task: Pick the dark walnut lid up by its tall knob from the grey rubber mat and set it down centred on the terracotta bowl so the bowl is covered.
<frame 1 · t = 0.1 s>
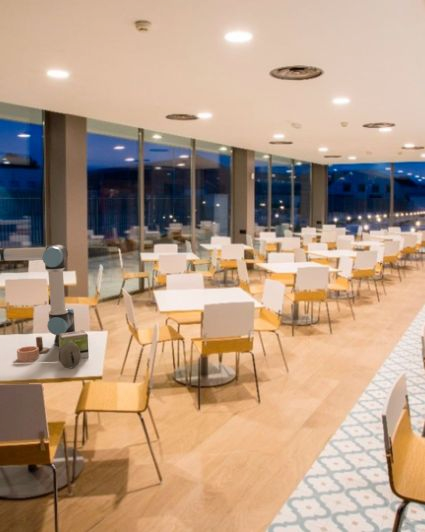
bowl: (28, 359, 324), on the table
mat: (40, 352, 337), on the table
lid: (40, 351, 336), point 1 cm above the table, touching mat
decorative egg: (70, 368, 306), on the table
tea box: (74, 358, 324), on the table
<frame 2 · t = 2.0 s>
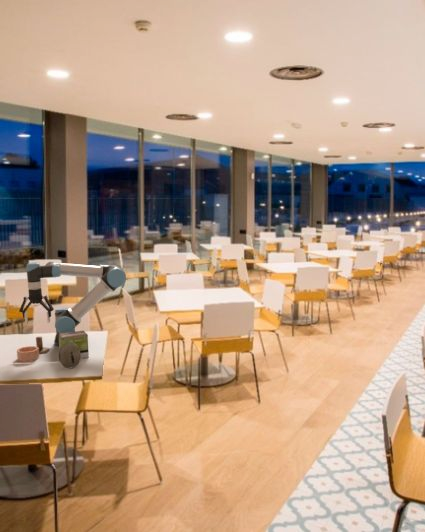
hand: (37, 322, 334), 19 cm above the table, fingers open, 13 cm apart
nothing on the table moved.
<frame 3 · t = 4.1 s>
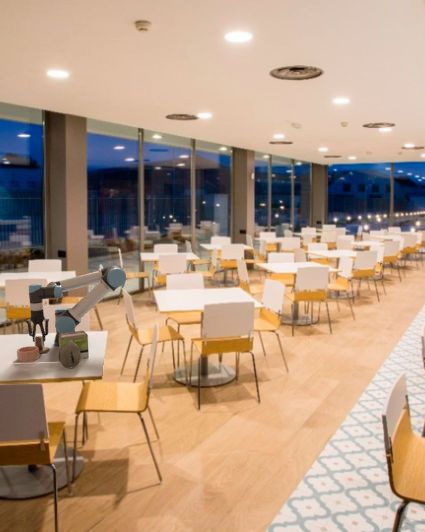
hand: (39, 346, 336), 4 cm above the table, fingers closed on lid, 3 cm apart
lid: (40, 350, 336), point 1 cm above the table, touching gripper
everything else where it was.
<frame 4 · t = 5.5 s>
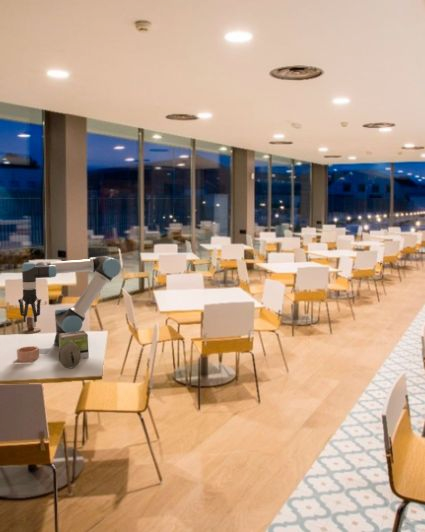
hand: (30, 327, 328), 17 cm above the table, fingers closed on lid, 3 cm apart
lid: (30, 331, 329), point 15 cm above the table, touching gripper
everything else where it was.
when the fingers open (11 cm above the table, at t = 7.2 s): lid drops 2 cm, resting on bowl.
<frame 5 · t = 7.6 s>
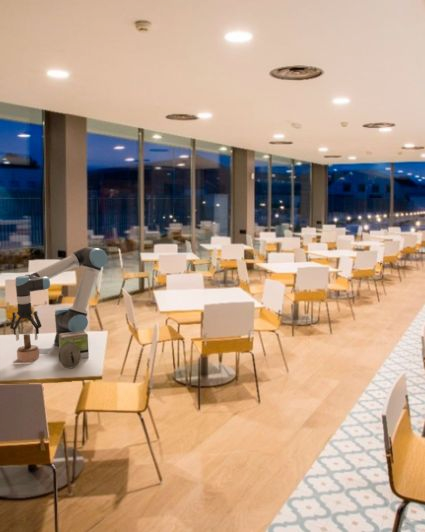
hand: (27, 339, 322), 12 cm above the table, fingers open, 10 cm apart
lid: (27, 349, 323), point 6 cm above the table, touching bowl
everything else where it was.
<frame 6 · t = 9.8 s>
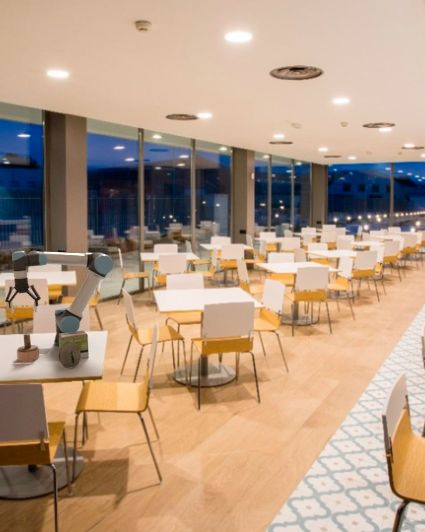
hand: (24, 312, 327), 26 cm above the table, fingers open, 13 cm apart
nothing on the table moved.
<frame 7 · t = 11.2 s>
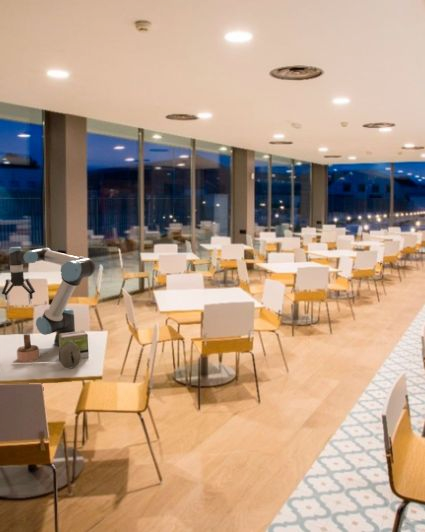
hand: (19, 304, 349), 27 cm above the table, fingers open, 13 cm apart
nothing on the table moved.
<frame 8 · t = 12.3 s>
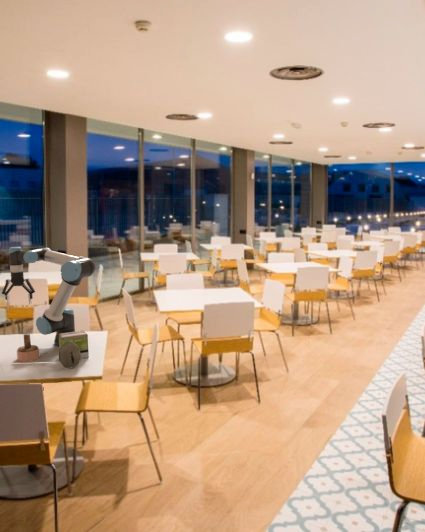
hand: (19, 304, 349), 27 cm above the table, fingers open, 13 cm apart
nothing on the table moved.
at the end: lid 0.1 cm off-centre on the bowl, point 6.0 cm above the bowl's base; lid tilted 0°; the gripper is holding nothing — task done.
